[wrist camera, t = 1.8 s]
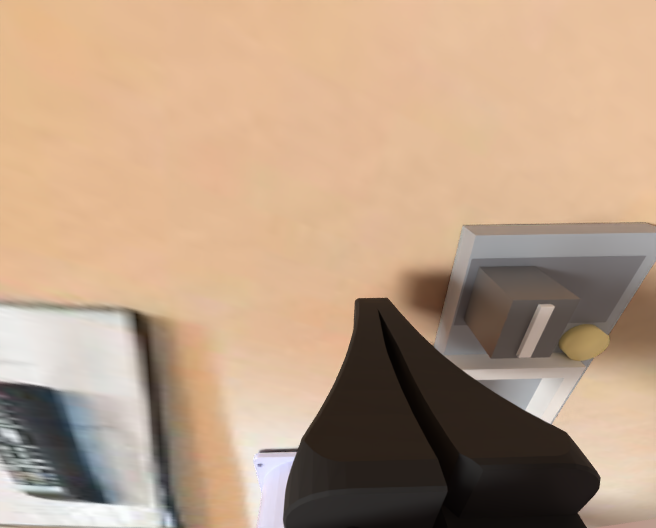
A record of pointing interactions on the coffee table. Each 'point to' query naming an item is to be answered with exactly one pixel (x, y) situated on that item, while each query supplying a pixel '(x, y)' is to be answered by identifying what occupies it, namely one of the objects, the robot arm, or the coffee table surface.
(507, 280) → the block
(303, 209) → the coffee table surface
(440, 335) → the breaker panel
